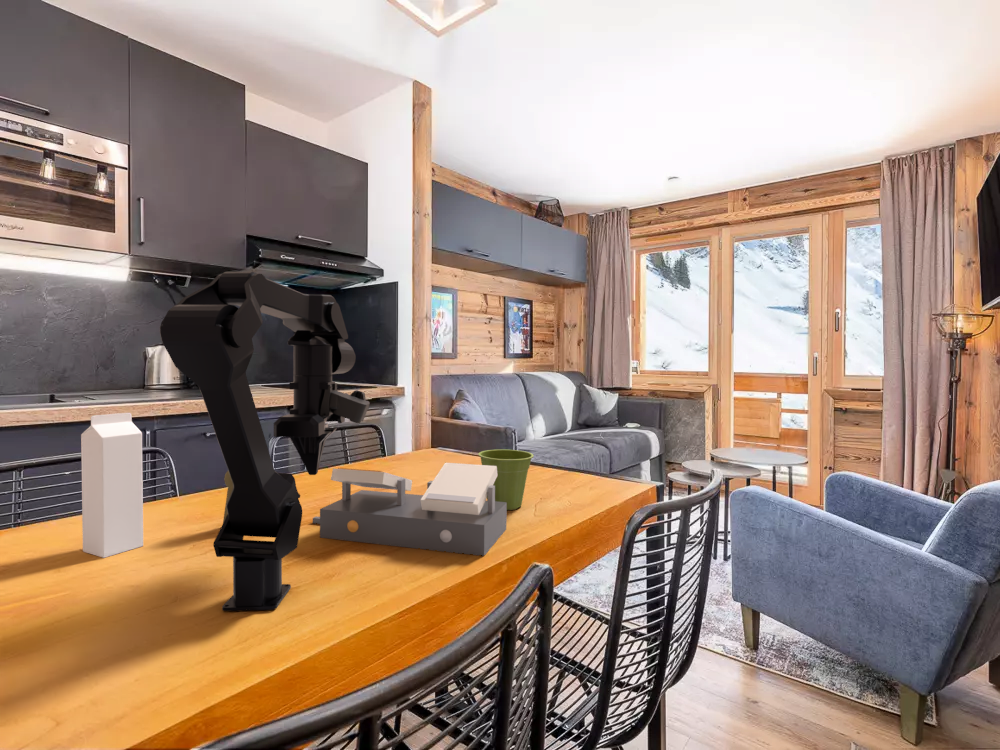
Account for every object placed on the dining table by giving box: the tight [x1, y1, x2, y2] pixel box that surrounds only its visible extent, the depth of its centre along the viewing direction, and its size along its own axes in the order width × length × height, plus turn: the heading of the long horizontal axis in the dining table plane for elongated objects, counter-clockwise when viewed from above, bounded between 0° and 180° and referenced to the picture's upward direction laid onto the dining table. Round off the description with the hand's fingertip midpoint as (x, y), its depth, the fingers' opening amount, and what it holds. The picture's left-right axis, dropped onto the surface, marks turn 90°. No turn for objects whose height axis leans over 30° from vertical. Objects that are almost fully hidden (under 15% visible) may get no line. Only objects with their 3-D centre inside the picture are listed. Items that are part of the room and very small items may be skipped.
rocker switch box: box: [312, 478, 508, 557], centre depth 96 cm, size 14×36×10 cm, turn 75°
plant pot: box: [478, 449, 534, 511], centre depth 113 cm, size 12×12×11 cm
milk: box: [80, 412, 144, 559], centre depth 86 cm, size 6×6×22 cm
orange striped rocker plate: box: [330, 467, 413, 492], centre depth 97 cm, size 12×10×2 cm
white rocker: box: [421, 462, 498, 515], centre depth 93 cm, size 12×10×2 cm
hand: (313, 474), depth 83 cm, fingers closed
